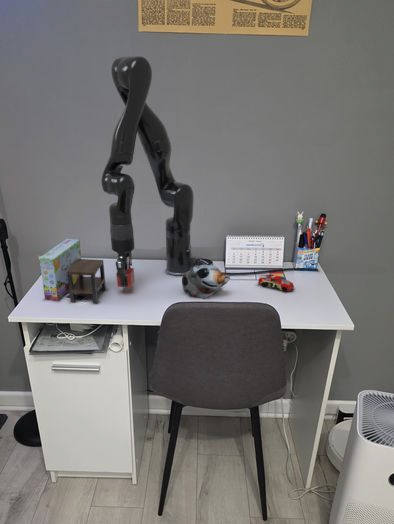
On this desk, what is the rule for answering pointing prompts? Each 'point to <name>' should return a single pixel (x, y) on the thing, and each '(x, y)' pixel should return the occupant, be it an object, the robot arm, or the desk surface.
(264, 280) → the race car
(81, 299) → the desk surface
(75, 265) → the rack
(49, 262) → the snack box
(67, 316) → the desk surface
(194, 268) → the spotted animal figurine
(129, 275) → the block
